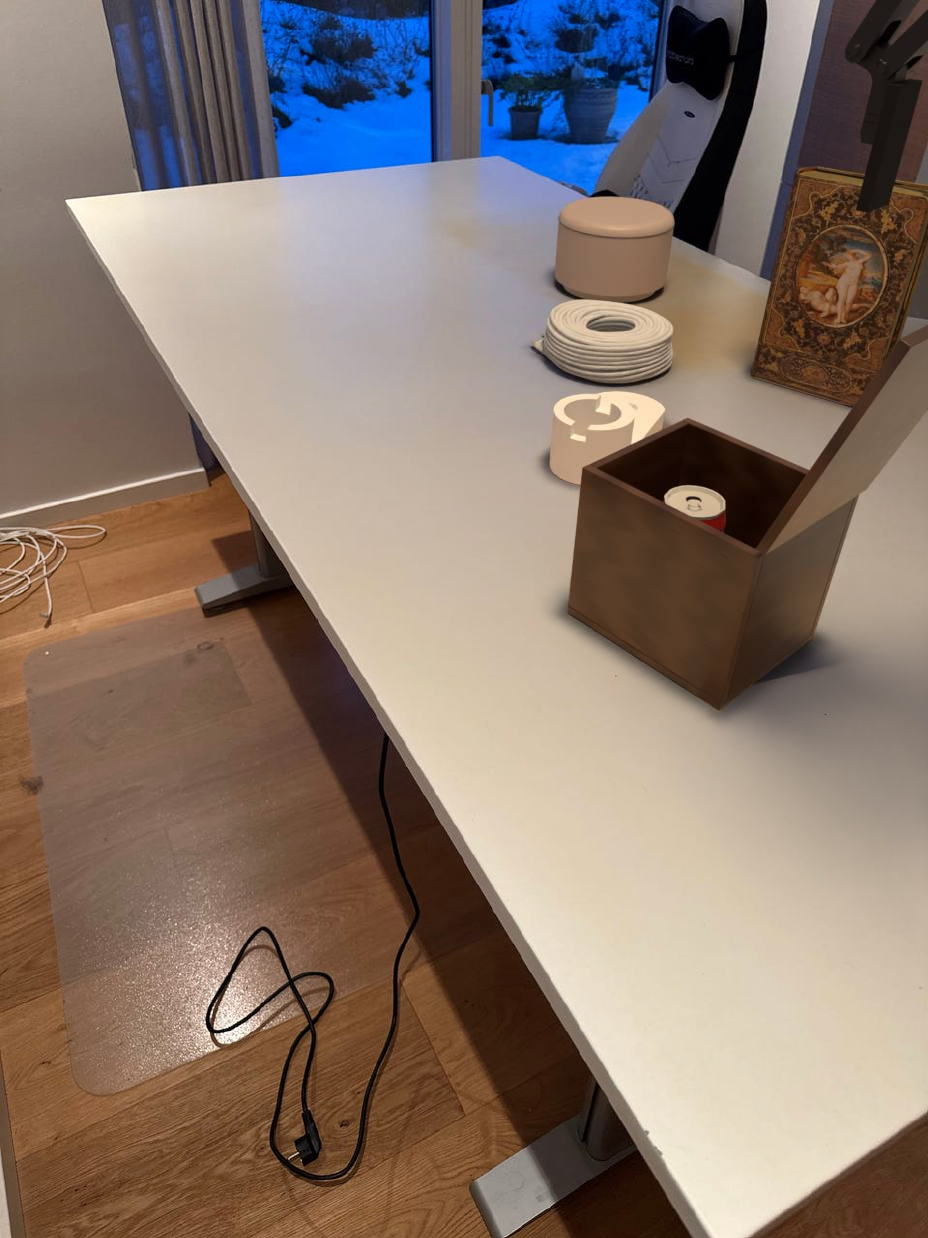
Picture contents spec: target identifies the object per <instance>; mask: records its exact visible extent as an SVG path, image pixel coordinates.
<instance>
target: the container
mask: <svg viewBox="0 0 928 1238" xmlns="http://www.w3.org/2000/svg"><path fill="white" fill-rule="evenodd" d="M557 220H558V224H557V226H558V227H557V238H556V252H555V265H554V266H555V268H554V278H555V280H556V281H557V282H558V283H559V284H561V285H562V286H563V289H564V290H565V291H566V292H568V293H569V294H571V295H573V296H575V297H578V298H581V299H583V300H599V301H610V302H617V303H631V302H637V301H642V300H645V299H647V298H650V297H651V296H652V295H654V294H655V293H656V292H657V291H658V290H659V289H662V288H663V287H664V286H665V285H666V282H667V278H668V277H667V276H668V270H669V263H670V257H671V250H672V243H673V235H674V229H675V225H676V224H675V222H676V221H675V217H674V215H673V213H672V212H671V211H670V210H669V209H668V208H666V207H665V206H664V205H661V204H659V203H657V202H653V201H651V200H645V199H640V198H633V197H627V196H626V197H624V196H594V197H587V198H586V197H585V198H581V199H576V200H573V201H572V202H571V201H570V203H568V204H566V205H565V206H563V208H561V210H560V211H559V214H558V217H557Z"/></svg>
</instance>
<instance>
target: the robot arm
mask: <svg viewBox="0 0 928 1238" xmlns="http://www.w3.org/2000/svg"><path fill="white" fill-rule="evenodd" d="M920 1H921V0H875V1H874V3H873V4H872V6H871V7H870V9H869V10H868V12H867V13H866V15H865V17H864V18H863V19H862V21H861V22H860V24H859V25H858V27H857V28H856V31H855V32H854V33H853V35H852V37H851V38H850V40H849V41H848V43H847V44H846V46H845V49H844V56H845V59H846V61H847V62H848V63H849V64H856V65H858V66H859V67H861V68H863V69H865V70H866V71H867V72H868V73H869V75H870V77H871V87H870V90H869V91H870V92H869V95H868V99H867V103H866V107H865V113H864V116H863V121H862V124H861V127H860V132H859V134H860V144H866V145H871V148H870V154H869V157H868V160H867V164H866V168H865V172H864V174H865V176H864V180H863V184H862V188H861V191H860V195H859V199H858V203H857V207H856V210H857V211H862V212H867V213H868V212H871V211H873V210H876V209H878V208H881V207H883V206H886V205H888V204H889V202H890V198H891V194H892V191H893V187H894V183H895V180H897V175H898V173H899V169H900V165H901V161H902V159H903V154H904V150H905V147H906V143H907V139H908V136H909V132H910V129H911V125H912V121H913V118H914V114H915V111H916V107H917V103H918V100H919V96H920V94H921V93H920V92H921V89H922V84H923V82H924V80H923V79H915V78H907V76H908V75H911V74H913V73H914V72H915V70H914V69H915V68H916V67H917V66H918V65H919V64H920V63H921V62H922V61H923V60H924V59H925V58H926V57H927V56H928V9H926V10H925V11H924V12H923V13H922V14H921V15H920V16H919V17H918V18H917V19H916V20H915V21H914V22H913V23H912V24H911V25H910V26H909V27H907V29H906V30H905V31H904V32H903V33H902V34H901V35H900V36H899V37H898V38H897V39H895V41H893V40H894V38H896V36H897V34H898V33H899V31H900V30H901V28H902V27H903V26H904V24H905V22H906V21H907V20H908V18H909V17H910V15H911V14H912V13H913V11H914V9H915V8H916V7H917V5H918V3H920ZM892 42H893V43H892ZM891 43H892V44H891ZM906 78H907V79H906Z"/></svg>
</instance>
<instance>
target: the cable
mask: <svg viewBox="0 0 928 1238" xmlns="http://www.w3.org/2000/svg"><path fill="white" fill-rule="evenodd" d="M673 335H674V326H673V324H672V323H671V322H670V321H669V320H668V319H667V318H665V317H663V316H662V315H660V314H659V313H657V312H655V311H652V310H650V309H648V308H645V307H642V306H638V305H634V304H628V303H625V302H621V303H617V302H610V301H599V300H588V299H573V300H568V301H565V302H562V303H560V304H557V305H556V306H554V307H553V308H552V309H551V311H550V312H549V316H548V317H547V319H546V327H545V332H544V333H541V334H540V337H541V338H543V339H539V340H537V339H535V338H531V339H530V342H531V343H532V345H533V346H534V348H535V349H536V350H537V351H538V352H539V353H540V354H542V355H544V356H545V357H546V358H548V359H549V360H550V361H551V362H552V363H553V364H554V365H555V366H556V367H558V368H559V369H561V370H562V371H564V372H566V373H568V374H570V375H573V376H576V377H578V378H579V377H580V378H582V379H585V380H587V381H592V382H596V383H601V384H629V383H635V382H639V381H643V380H646V379H651V378H653V377H657V376H659V375H660V374H661V375H662V374H663V373H664V372H666V371H667V370H668V369H669V368H670V367H671V366H672V363H673V361H674V359H673V357H674V350H673Z"/></svg>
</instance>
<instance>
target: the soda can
mask: <svg viewBox="0 0 928 1238" xmlns="http://www.w3.org/2000/svg"><path fill="white" fill-rule="evenodd" d="M663 502H664V503H666V504H668V505H670V506H672V507H673V508H675V509H677V510H679V511H681V512H683V513H685V514H687V515H689V516H691V517H693V518H695V519H697V520H699V521H701V522H703V523H705V524H707V525H709V526H711V527H713V528H715V529H717V530H719V531H721V532H723V533H724V530H725V520H726V516H725V500H724V498H723V497H722V496H721V495H720V494H718V493H717V492H715V491H713V490H711V489H708V488H705V487H700V486H690V485H687V486H679V487H675V488H673V489H671V490H669V491H668V492H667V493H666V495H665V496H664V500H663Z"/></svg>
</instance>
